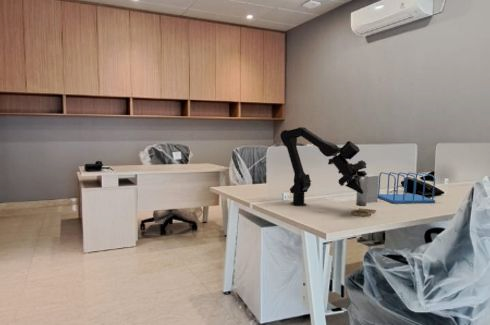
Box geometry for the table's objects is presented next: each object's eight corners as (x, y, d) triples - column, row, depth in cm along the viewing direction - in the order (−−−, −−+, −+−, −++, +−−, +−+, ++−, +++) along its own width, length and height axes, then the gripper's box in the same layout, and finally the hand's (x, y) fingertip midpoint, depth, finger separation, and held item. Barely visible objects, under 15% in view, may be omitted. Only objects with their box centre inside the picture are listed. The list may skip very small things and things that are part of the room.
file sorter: (392, 204, 186) (394, 175, 185) (375, 197, 203) (377, 171, 202) (435, 203, 190) (437, 175, 188) (415, 197, 207) (416, 171, 206)
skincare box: (369, 200, 194) (370, 173, 193) (377, 202, 189) (379, 175, 188) (358, 201, 190) (359, 174, 189) (367, 203, 185) (368, 175, 184)
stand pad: (356, 212, 164) (356, 211, 164) (358, 209, 171) (359, 208, 171) (374, 214, 161) (374, 213, 161) (376, 211, 168) (376, 210, 168)
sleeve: (355, 203, 161) (356, 175, 160) (365, 204, 160) (366, 176, 159) (357, 206, 157) (358, 177, 155) (367, 206, 156) (369, 177, 155)
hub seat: (344, 213, 163) (344, 209, 163) (366, 212, 165) (366, 209, 165) (355, 219, 153) (355, 215, 152) (378, 218, 154) (378, 214, 154)
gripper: (346, 155, 152) (369, 184, 146) (364, 153, 166) (386, 179, 160) (329, 171, 158) (350, 199, 152) (347, 168, 172) (368, 194, 166)
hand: (364, 192), depth 157 cm, fingers closed on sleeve, 4 cm apart
